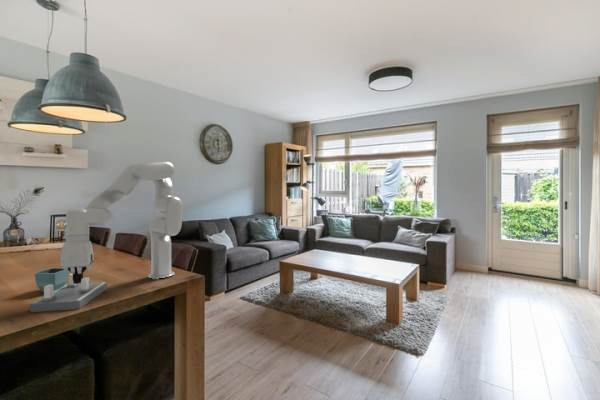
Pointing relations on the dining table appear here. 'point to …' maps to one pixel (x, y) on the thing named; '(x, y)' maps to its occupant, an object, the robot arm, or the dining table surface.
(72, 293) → the grey flat block
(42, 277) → the flower pot
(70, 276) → the cylinder
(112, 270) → the dining table surface
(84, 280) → the middle breaker
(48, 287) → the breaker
